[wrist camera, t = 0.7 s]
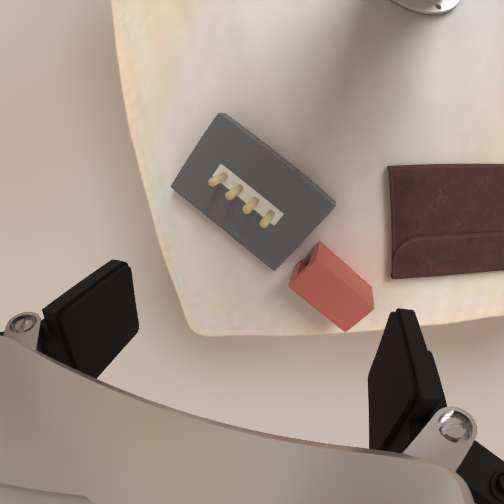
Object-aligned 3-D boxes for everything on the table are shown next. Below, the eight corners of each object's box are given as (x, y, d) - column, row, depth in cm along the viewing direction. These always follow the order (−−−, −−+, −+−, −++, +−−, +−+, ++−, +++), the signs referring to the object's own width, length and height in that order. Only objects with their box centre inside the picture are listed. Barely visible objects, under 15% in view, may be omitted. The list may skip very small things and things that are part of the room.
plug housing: (319, 240, 41) (316, 258, 36) (371, 286, 42) (374, 308, 37) (294, 266, 44) (288, 286, 39) (345, 309, 44) (345, 332, 39)
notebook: (386, 165, 35) (389, 167, 33) (516, 163, 29) (523, 166, 27) (390, 274, 41) (392, 281, 39) (508, 265, 35) (513, 271, 33)
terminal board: (224, 113, 37) (205, 113, 32) (335, 201, 38) (334, 216, 33) (177, 183, 43) (155, 194, 38) (277, 264, 44) (267, 285, 39)
